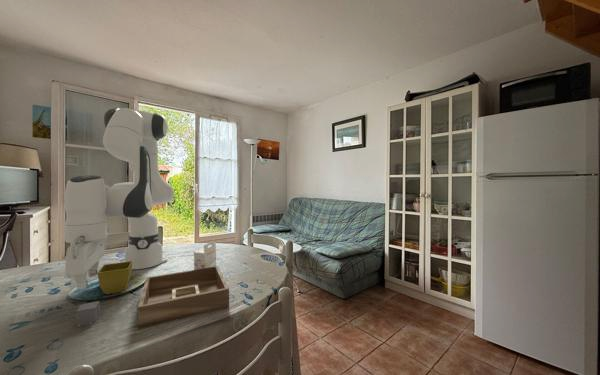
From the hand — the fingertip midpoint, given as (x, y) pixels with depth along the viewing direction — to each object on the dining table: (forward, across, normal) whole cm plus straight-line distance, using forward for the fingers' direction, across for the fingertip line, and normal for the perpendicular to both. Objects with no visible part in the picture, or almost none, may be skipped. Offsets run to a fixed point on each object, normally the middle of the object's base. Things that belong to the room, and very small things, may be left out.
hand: (88, 281), depth 67 cm
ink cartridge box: (+12, +18, -33) cm, 39 cm away
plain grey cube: (+12, +1, 0) cm, 12 cm away
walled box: (+12, +1, -25) cm, 27 cm away
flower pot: (+11, +20, -3) cm, 23 cm away
